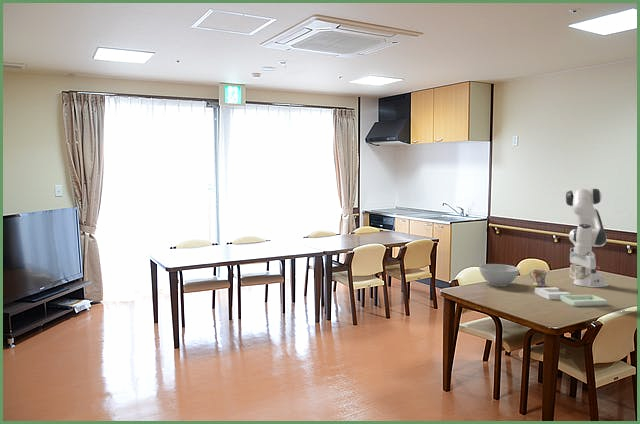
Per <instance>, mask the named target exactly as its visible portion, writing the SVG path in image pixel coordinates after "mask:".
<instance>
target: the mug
mask: <svg viewBox="0 0 640 424" xmlns="http://www.w3.org/2000/svg"><path fill="white" fill-rule="evenodd" d="M531 273H532V274H533V276H534V278H533V276H532V275H531ZM547 274H548V271H547V270H544V269H533V270H532V271H529V277H530V278H531V279H532V280H533V282H532V286H534V287H536V288H546V286H547V284H546V276H547Z"/></svg>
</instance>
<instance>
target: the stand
mask: <svg viewBox="0 0 640 424" xmlns="http://www.w3.org/2000/svg"><path fill="white" fill-rule="evenodd" d="M534 294H535V295H538V296H539V297H542V298H544V299H546V300H548V301H549V300H550V301H551V300H560V296H561V295H571V293H570V292H568V291H560V288H558V287H554V286H552V287H534Z"/></svg>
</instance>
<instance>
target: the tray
mask: <svg viewBox="0 0 640 424" xmlns="http://www.w3.org/2000/svg"><path fill="white" fill-rule="evenodd" d="M559 301H561V302H563V303H566V304H568V305H570V306H572V307H594V306H595V307H596V306H597V307H599V306H608V300H607V299H604V298H602V297H599V296H597V295H594V294H572V295H561V296H560V299H559Z"/></svg>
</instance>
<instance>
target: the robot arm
mask: <svg viewBox="0 0 640 424" xmlns="http://www.w3.org/2000/svg"><path fill="white" fill-rule="evenodd" d="M564 201H565V203H566V205H567V206H570V207H572V210H573V213H574V214H575V215H576V221H577V222H576V223H577V224H578V225H577V228H575V229H572V230H570V231H569V233H568V238H569V241H570V242H571V243H572V244H573V245H574V247H570V249H569V251H570V254H569V263H570V264H572V265H579V266H583V267H585V269H586V270H585V272H584V274H585V275H588V272H589V270H590V269H595V268H596V273H593V274H591V279H583V280H575V279H573V284H574V285H575V286H576V285H577V286H580V287H586V288H587V287H588V288H600V287H601V288H602V287H609V284H608V283H606V280H605V276H604V275H603V274H602V273H600V272H599V271H598V270H600V269H601V267H600V266H598V265H597V261H596V260H597V259H596V254H595V253H594V251H592V250H593V249H592V247H594V248H595V247H596V248H597V247H603V246H605V245H606V244H607V239H608V238H607V233H606V231H605V228H604V225H603V222H602V218H601V215H600V213H599V210H598V209H596V208H595V207H594V205H598V204H599V203H601V201H602V193H601V191H600V189H598V188H579V189H575V190H568V191H566V193H565V196H564Z"/></svg>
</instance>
